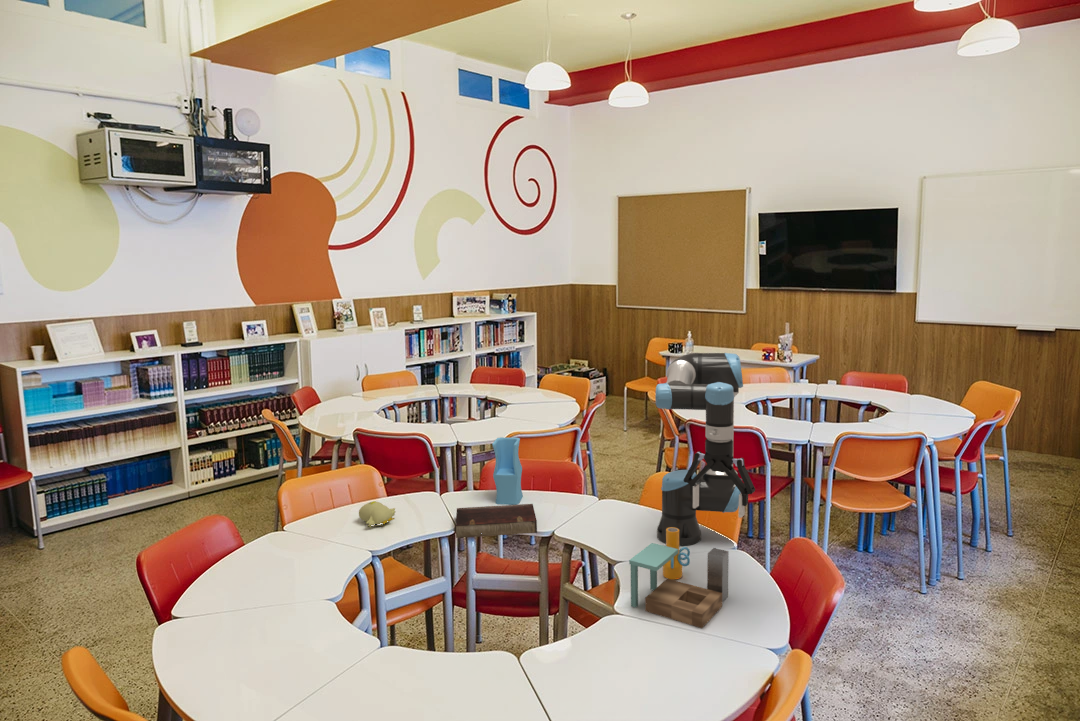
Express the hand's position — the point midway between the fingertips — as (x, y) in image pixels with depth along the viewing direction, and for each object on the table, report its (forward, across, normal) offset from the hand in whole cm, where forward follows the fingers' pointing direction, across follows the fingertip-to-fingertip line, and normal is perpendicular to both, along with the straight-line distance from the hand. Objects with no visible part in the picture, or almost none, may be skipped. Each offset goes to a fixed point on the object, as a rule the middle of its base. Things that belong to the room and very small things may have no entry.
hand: (718, 511), depth 205 cm
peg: (+26, 0, 0) cm, 26 cm away
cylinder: (+26, -17, +6) cm, 32 cm away
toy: (+26, -131, -14) cm, 134 cm away
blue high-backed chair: (+26, -102, +32) cm, 110 cm away
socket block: (+26, -6, -11) cm, 29 cm away
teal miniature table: (+26, -15, -11) cm, 32 cm away
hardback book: (+27, -90, +9) cm, 94 cm away
